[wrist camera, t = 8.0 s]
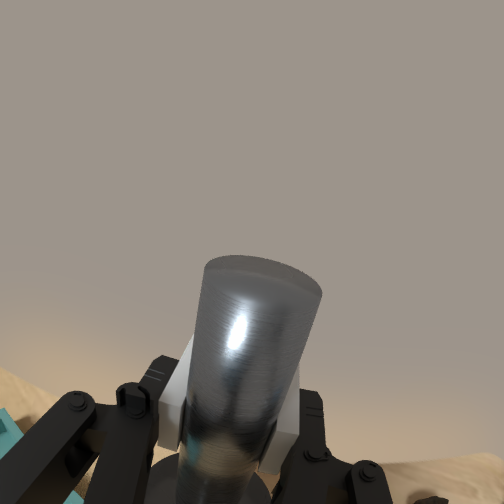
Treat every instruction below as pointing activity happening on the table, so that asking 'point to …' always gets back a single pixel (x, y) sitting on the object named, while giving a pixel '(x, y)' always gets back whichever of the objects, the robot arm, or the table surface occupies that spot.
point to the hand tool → (433, 500)
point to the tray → (8, 434)
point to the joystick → (236, 380)
